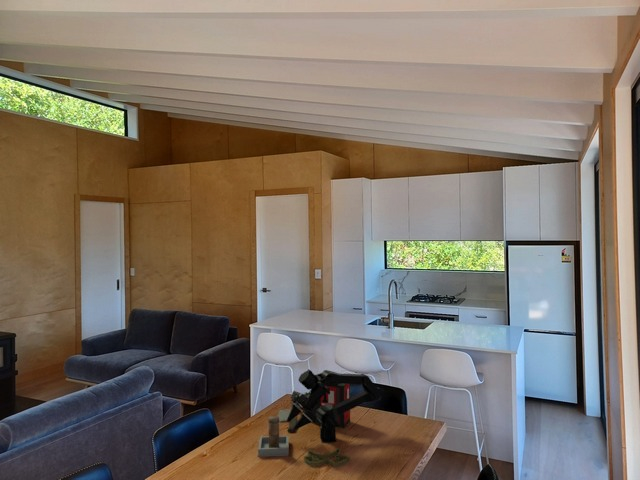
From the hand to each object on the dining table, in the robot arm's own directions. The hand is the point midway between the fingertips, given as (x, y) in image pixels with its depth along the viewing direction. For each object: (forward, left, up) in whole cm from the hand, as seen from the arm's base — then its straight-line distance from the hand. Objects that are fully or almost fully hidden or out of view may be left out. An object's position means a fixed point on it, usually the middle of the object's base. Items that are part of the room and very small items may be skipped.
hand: (290, 424), depth 192 cm
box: (+7, +2, -9) cm, 12 cm away
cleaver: (+1, -29, -10) cm, 30 cm away
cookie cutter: (-14, +13, -10) cm, 22 cm away
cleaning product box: (-20, -25, -9) cm, 33 cm away
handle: (+7, +2, -8) cm, 11 cm away
